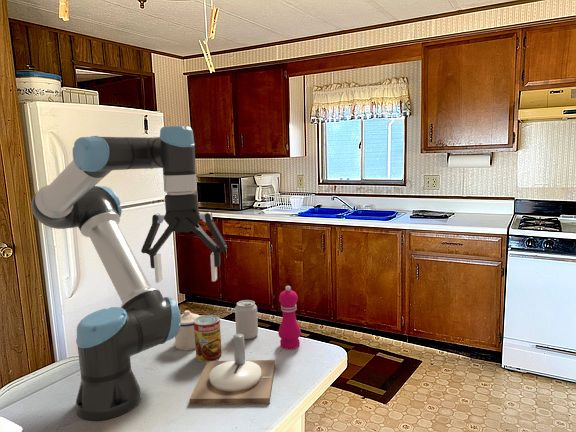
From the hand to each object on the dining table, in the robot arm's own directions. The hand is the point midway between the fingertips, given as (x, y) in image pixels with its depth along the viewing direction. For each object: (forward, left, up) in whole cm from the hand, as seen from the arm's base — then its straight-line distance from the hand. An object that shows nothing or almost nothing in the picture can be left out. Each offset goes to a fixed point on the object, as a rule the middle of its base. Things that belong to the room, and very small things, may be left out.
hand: (186, 280), depth 103 cm
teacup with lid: (-11, +35, -32) cm, 49 cm away
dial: (+9, +9, -30) cm, 33 cm away
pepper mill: (+23, +32, -32) cm, 51 cm away
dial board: (+9, +9, -32) cm, 34 cm away
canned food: (-2, +25, -32) cm, 41 cm away
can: (+8, +40, -32) cm, 52 cm away
